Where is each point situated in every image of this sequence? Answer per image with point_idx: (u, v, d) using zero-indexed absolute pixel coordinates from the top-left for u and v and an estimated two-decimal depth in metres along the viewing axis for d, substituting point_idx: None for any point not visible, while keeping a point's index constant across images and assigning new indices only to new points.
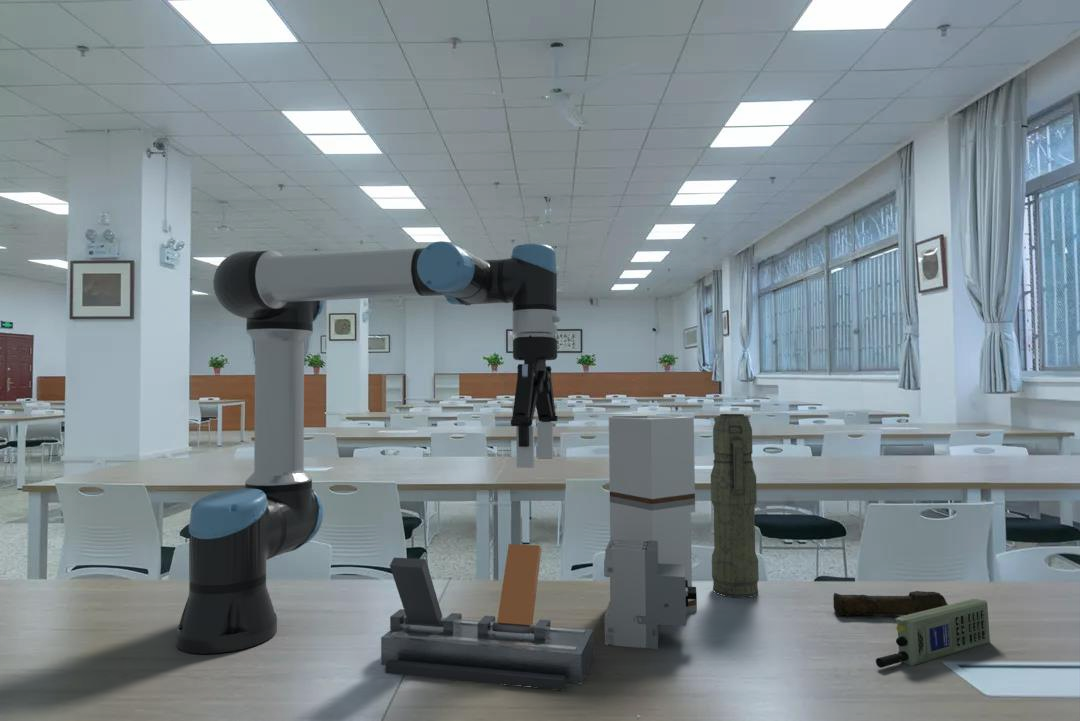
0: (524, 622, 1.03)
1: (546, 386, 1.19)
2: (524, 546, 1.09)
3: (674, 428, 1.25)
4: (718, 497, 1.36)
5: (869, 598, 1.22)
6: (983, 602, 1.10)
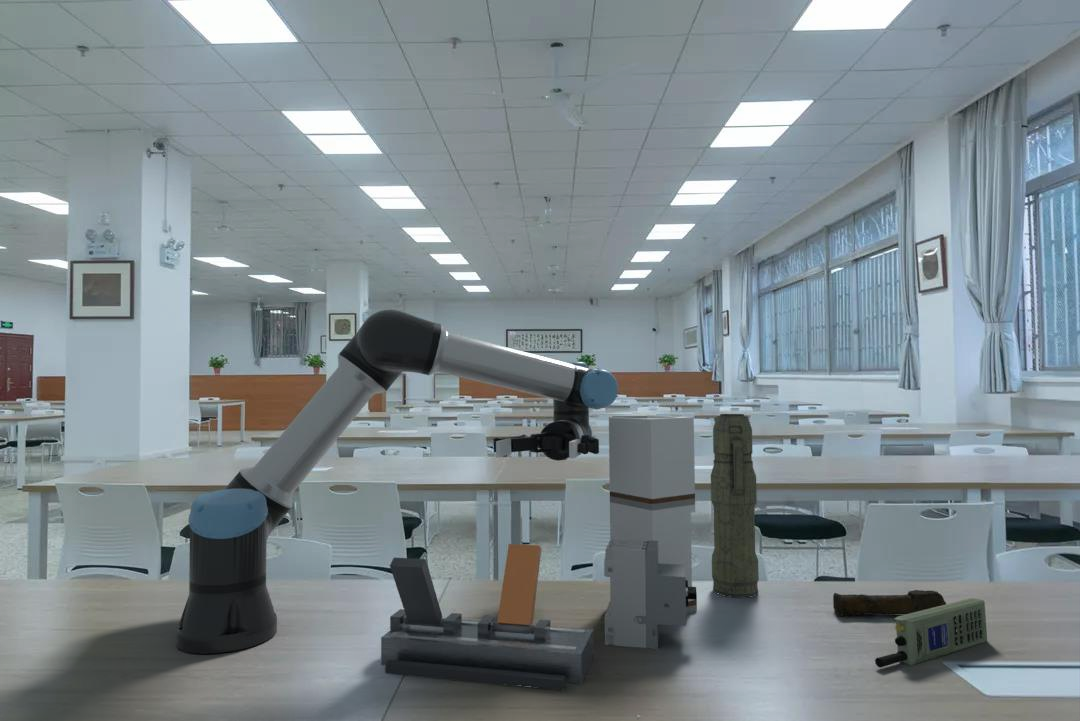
0: (524, 622, 1.03)
1: (541, 450, 1.30)
2: (524, 546, 1.09)
3: (674, 428, 1.25)
4: (718, 497, 1.36)
5: (869, 598, 1.22)
6: (980, 602, 1.10)
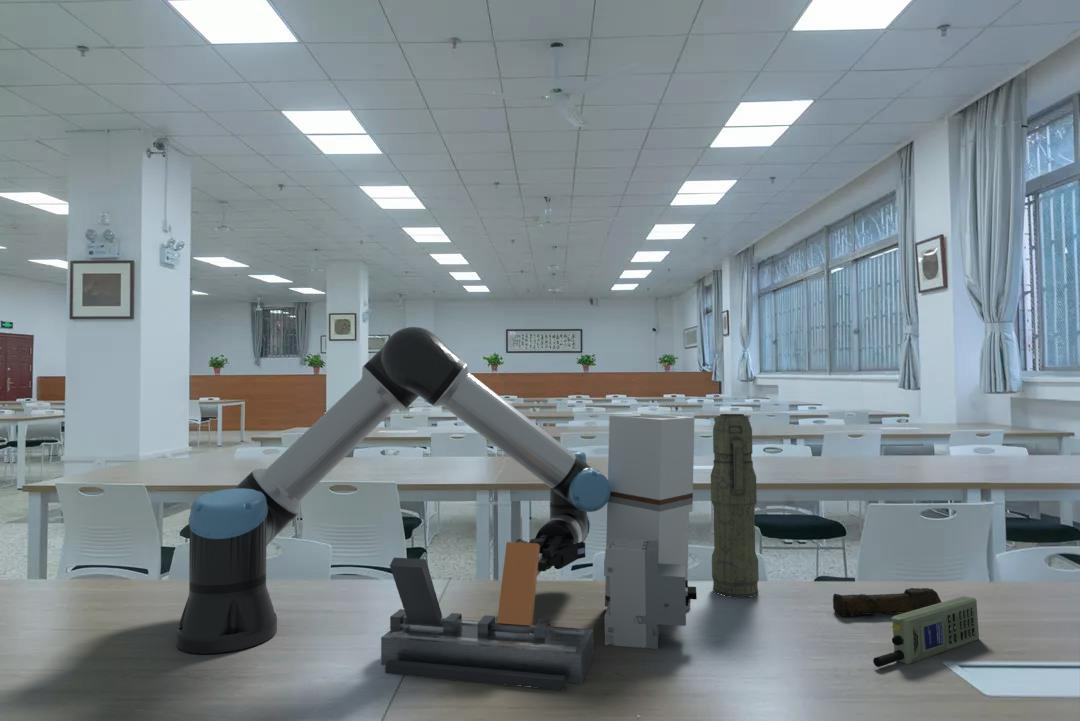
0: (524, 622, 1.03)
1: None
2: (522, 544, 1.08)
3: (679, 428, 1.24)
4: (718, 497, 1.36)
5: (869, 597, 1.22)
6: (972, 600, 1.11)
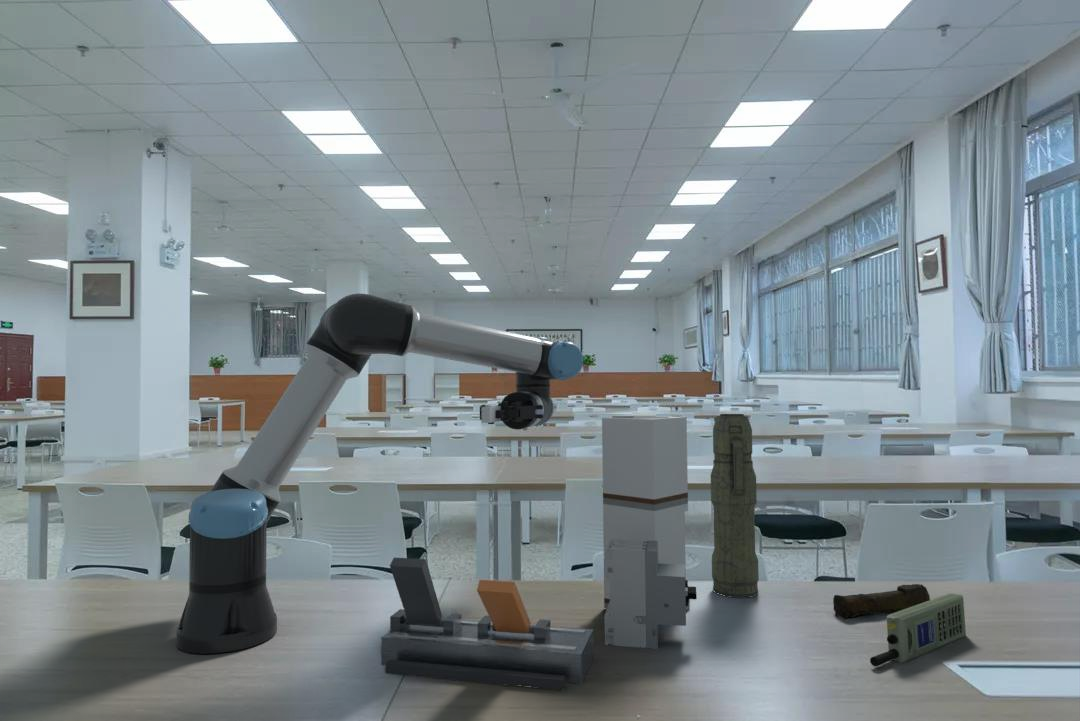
0: (523, 632, 1.02)
1: None
2: (495, 592, 0.95)
3: (671, 428, 1.25)
4: (718, 497, 1.36)
5: (869, 597, 1.23)
6: (959, 597, 1.13)
